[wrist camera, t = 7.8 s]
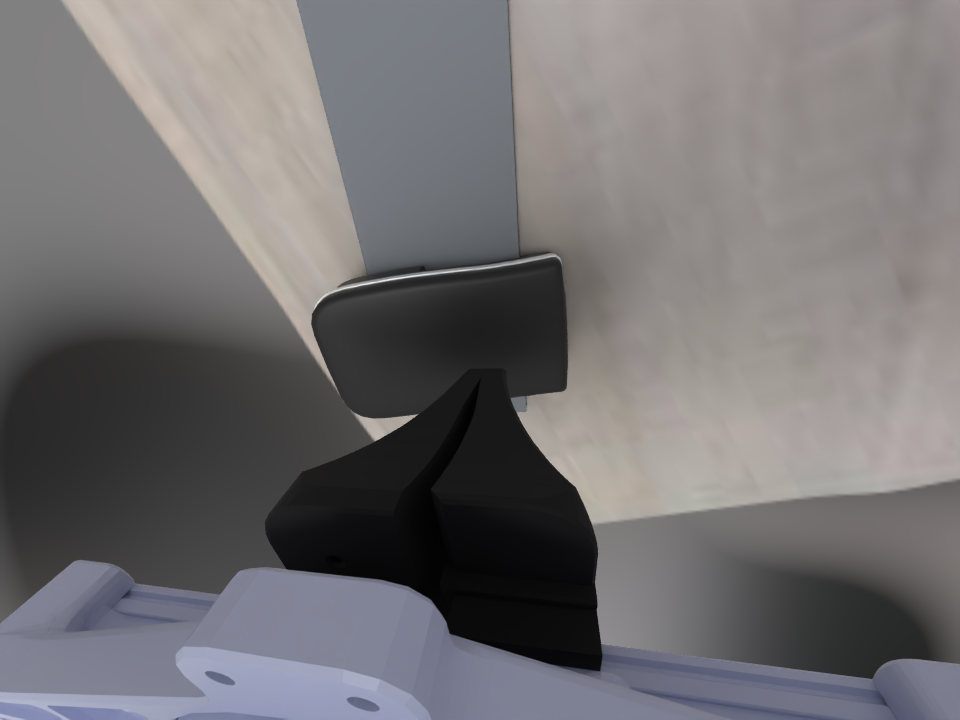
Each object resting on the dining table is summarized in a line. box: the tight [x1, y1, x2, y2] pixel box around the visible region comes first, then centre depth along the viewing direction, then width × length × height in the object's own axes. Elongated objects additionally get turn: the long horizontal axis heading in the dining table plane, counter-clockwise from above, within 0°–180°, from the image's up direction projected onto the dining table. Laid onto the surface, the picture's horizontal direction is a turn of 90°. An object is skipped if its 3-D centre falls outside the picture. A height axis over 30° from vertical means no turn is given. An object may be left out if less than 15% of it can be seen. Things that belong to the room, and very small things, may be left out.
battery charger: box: [311, 252, 568, 418], centre depth 17 cm, size 7×4×11 cm
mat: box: [296, 0, 526, 412], centre depth 17 cm, size 8×20×1 cm, turn 6°
